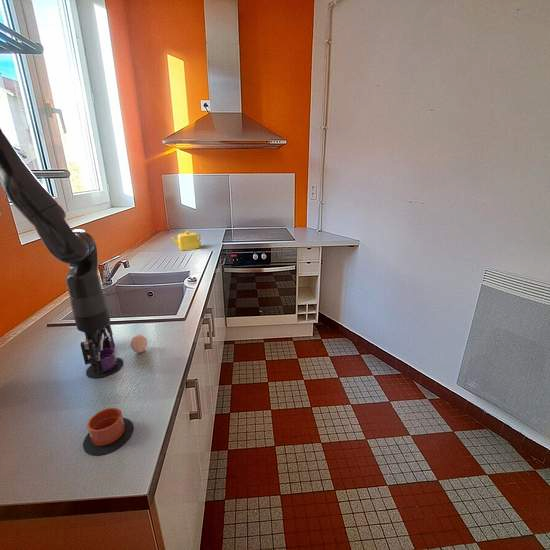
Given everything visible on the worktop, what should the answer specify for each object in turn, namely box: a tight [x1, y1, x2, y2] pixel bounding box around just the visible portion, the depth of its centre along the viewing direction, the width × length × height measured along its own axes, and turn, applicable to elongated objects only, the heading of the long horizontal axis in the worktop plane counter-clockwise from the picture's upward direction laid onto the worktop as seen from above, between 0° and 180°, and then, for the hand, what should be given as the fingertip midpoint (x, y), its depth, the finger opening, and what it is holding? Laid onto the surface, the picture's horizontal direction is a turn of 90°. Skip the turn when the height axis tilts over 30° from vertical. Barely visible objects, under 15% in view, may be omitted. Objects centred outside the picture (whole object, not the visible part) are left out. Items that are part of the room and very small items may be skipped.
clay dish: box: [86, 407, 125, 446], centre depth 60 cm, size 6×6×4 cm
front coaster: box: [82, 417, 134, 457], centre depth 61 cm, size 9×9×1 cm
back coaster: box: [85, 356, 124, 379], centre depth 82 cm, size 9×9×1 cm
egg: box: [130, 333, 148, 354], centre depth 89 cm, size 4×4×6 cm
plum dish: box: [90, 348, 117, 372], centre depth 82 cm, size 6×6×4 cm
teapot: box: [171, 230, 202, 251], centre depth 209 cm, size 20×12×12 cm, turn 115°
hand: (103, 363), depth 82 cm, fingers open, 8 cm apart
